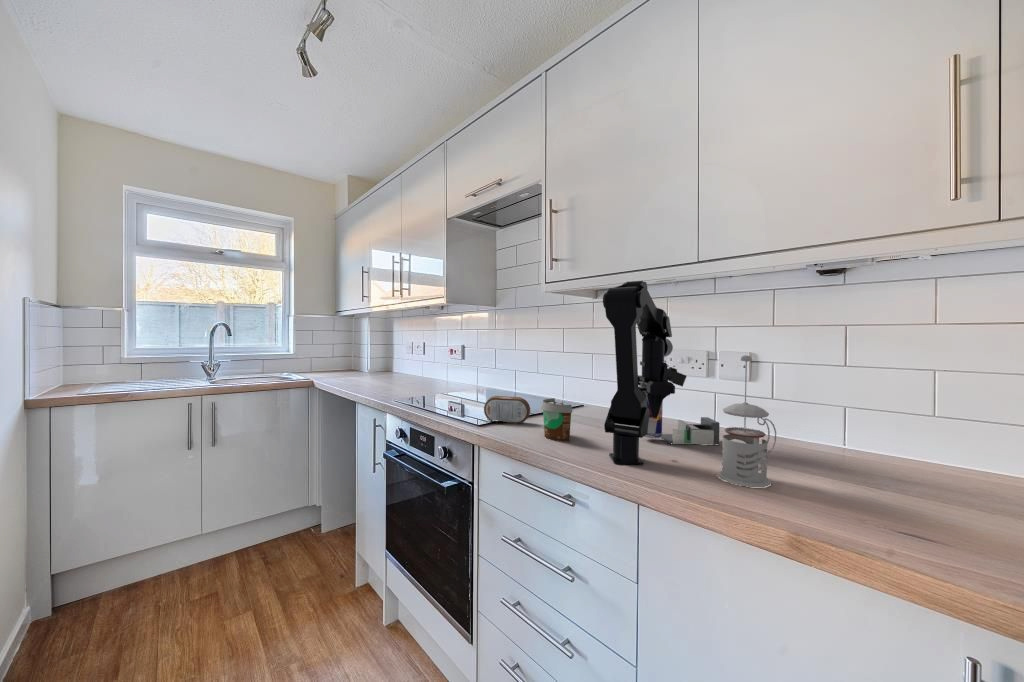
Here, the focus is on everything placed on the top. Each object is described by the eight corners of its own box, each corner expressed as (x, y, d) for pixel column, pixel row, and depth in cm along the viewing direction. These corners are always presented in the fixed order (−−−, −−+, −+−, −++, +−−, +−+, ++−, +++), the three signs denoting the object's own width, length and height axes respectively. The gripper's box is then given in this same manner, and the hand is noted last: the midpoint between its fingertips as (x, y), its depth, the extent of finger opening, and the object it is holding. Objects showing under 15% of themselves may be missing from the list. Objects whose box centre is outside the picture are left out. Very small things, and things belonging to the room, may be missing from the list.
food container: (533, 432, 118) (534, 398, 118) (553, 431, 120) (553, 397, 119) (550, 444, 106) (551, 406, 106) (571, 442, 108) (572, 405, 108)
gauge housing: (719, 445, 106) (720, 423, 106) (668, 444, 107) (669, 421, 107) (707, 438, 113) (708, 417, 113) (660, 437, 114) (660, 416, 114)
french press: (705, 472, 85) (708, 353, 85) (752, 469, 88) (755, 354, 87) (741, 490, 76) (744, 356, 75) (793, 486, 78) (796, 356, 78)
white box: (702, 441, 106) (702, 426, 105) (687, 440, 106) (688, 425, 106) (691, 434, 113) (691, 420, 113) (677, 433, 113) (677, 419, 113)
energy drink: (650, 439, 107) (651, 393, 107) (636, 434, 112) (637, 391, 112) (666, 437, 109) (667, 393, 109) (652, 432, 114) (652, 390, 114)
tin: (530, 422, 131) (530, 396, 131) (528, 425, 128) (529, 398, 128) (485, 420, 134) (485, 395, 134) (482, 422, 131) (483, 396, 131)
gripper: (696, 361, 101) (695, 423, 101) (671, 357, 119) (670, 410, 119) (651, 360, 101) (650, 422, 101) (633, 356, 120) (632, 409, 120)
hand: (651, 415), depth 111 cm, fingers closed on energy drink, 5 cm apart
